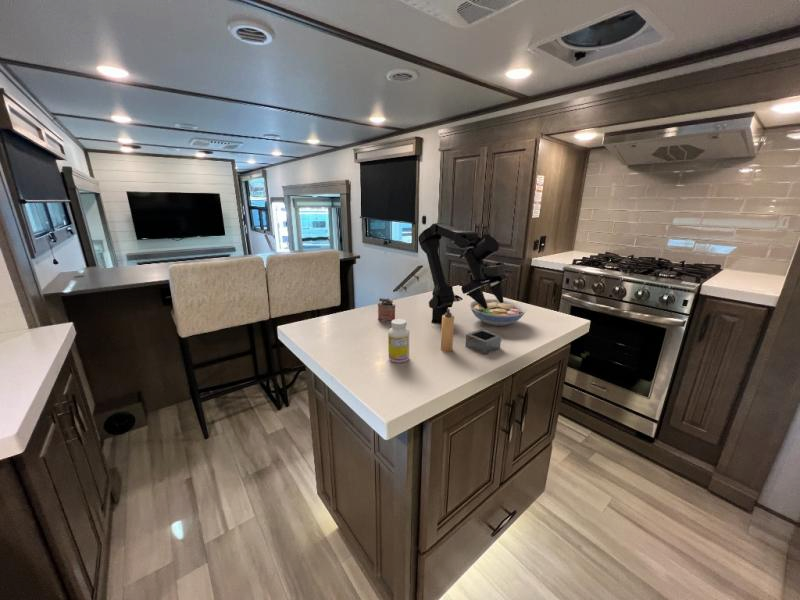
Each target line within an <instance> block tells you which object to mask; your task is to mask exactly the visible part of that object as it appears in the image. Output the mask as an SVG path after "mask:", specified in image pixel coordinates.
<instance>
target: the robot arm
mask: <svg viewBox="0 0 800 600" xmlns="http://www.w3.org/2000/svg"><path fill="white" fill-rule="evenodd" d="M443 237H444V238H446V239H448V240H451V241H453V244H454V245H455V246H456V247H458V248H459V249H465V250H461V251H460V255H459V260H461V259H464V261H465V262H466V263H465V264H466V265H467V268H468V270H467V273H468V275H471V277H472V279H473V280H470V281H468V282H466V283H464V284H463V285H461V292H462V294H464V295H465V294H466V295H465V296H468V297H470V298H472V299H473V301H476V302H477V303H479V304H480V305H481V306H482V307H483V308H484V309H487V308H488V307H487V303H486V300H485V299H486V297H485V295H484V286H487V285H488V286H489V287H488V289H489V290H490V291H491V293H492V294H493V295H494V297H495V299H498V301H499V302H500V303H503V302H504V301H503V300H504V294H503V291H504V290H503V286H504V284H505V283H506V280H508V277H507V275H506V273H505V271H506V270H507V267H506V265H505V263H504V261H498V262H496V263H495V265H490V263H488V262H485V260H486V259H487V258H489V257H490V256H492V255H494V254H495V253H497V252H498V251H499V248H500V245H499V242H498V241H497V240H496V239H495V238H494V237H493V236H491V233H484V234H483V235H482V236H479V233H478V232H477V231H473V230H472V231H471V230H460V229H457V228H456V227H452V226H451V225H447V224H445V223H443V222H434V223H432V224H431V225H430V226H429V227H426V229H424V230H422V232H421V233H420V234H419V236H418V240H417V241H418V244H419V246H420V249H421V250H422V251H423V253H424V254H426V258H427V262H428V266H429V270H430V274H431V278H432V281H433V289H432V292H431V293H432V298H431V299H430V300H429V301H428V307H429V308H430V309H432V310H431V311H432V314H431V316H432V317H431V323H434V324H442V315H445V313H447V309H450V308H452V307H453V305H454V301H455V293H454V288H453V286H452V285H448V284H447V281H446V277H445V275H444V270H443V267H442V262H441V258H440V255H439V248H440V244H441V242H440V241H441V240H442V239H443Z"/></svg>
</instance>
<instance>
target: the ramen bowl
mask: <svg viewBox="0 0 800 600" xmlns="http://www.w3.org/2000/svg"><path fill="white" fill-rule="evenodd" d="M485 300H486V303H487V307H488V308H487V309H484V308H483V307H482V306H481V305H480V304H479V303H477V302H476V301H475V300H472V301H470V303H469V308H470V310H471V312H472V313H473V315H474V317H475V318H477V319H478V320H479V321H481V322H484V323H485V324H488V325H490V326H495V327H502V326H505V325H511V324H513V323H516V322H517V321H519V320H520V319H521V318H522V317H523V316H524V315H525V313H526V312H527V308H526V306H524V305H523V304H520V303H518V302H514V301H511V300H507V299H503V301H504V302H503V303H500V302H499V301H498V299H497V298H485Z"/></svg>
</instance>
